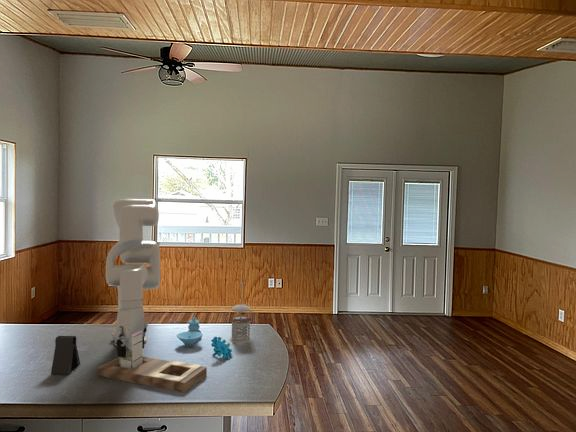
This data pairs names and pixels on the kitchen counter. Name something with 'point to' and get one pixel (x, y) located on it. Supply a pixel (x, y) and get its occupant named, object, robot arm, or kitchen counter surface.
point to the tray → (156, 373)
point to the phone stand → (65, 355)
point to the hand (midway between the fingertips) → (131, 352)
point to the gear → (221, 348)
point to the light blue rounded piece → (191, 333)
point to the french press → (241, 324)
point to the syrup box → (132, 352)
